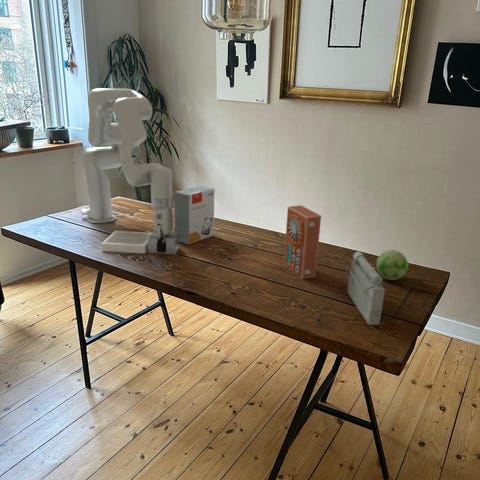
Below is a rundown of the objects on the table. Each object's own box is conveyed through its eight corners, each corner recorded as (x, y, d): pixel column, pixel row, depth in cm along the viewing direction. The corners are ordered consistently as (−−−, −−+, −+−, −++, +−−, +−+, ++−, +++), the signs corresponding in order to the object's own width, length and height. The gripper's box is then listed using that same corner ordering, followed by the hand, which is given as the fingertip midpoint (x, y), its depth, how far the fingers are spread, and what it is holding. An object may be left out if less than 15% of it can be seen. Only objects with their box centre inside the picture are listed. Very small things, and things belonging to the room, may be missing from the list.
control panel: (301, 281, 148) (280, 263, 160) (320, 278, 150) (297, 261, 163) (307, 218, 140) (283, 205, 153) (326, 216, 143) (301, 203, 156)
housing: (148, 252, 167) (147, 236, 164) (152, 247, 172) (151, 231, 170) (175, 254, 166) (174, 237, 164) (178, 248, 172) (178, 232, 169)
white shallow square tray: (102, 251, 167) (101, 243, 166) (115, 238, 180) (114, 230, 179) (144, 253, 166) (144, 245, 165) (154, 240, 179) (154, 233, 178)
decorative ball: (371, 280, 150) (375, 252, 146) (379, 270, 158) (383, 243, 154) (401, 288, 145) (406, 259, 142) (408, 277, 153) (413, 249, 150)
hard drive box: (188, 245, 175) (187, 195, 168) (174, 241, 179) (173, 191, 172) (214, 235, 186) (214, 188, 179) (200, 231, 191) (200, 184, 184)
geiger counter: (391, 278, 118) (360, 244, 142) (367, 278, 118) (340, 244, 141) (383, 325, 123) (354, 284, 147) (360, 325, 123) (335, 284, 146)
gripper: (166, 209, 154) (168, 258, 161) (177, 196, 170) (178, 241, 177) (145, 208, 155) (147, 256, 161) (157, 195, 171) (159, 240, 177)
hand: (163, 248), depth 169 cm, fingers closed on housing, 6 cm apart
